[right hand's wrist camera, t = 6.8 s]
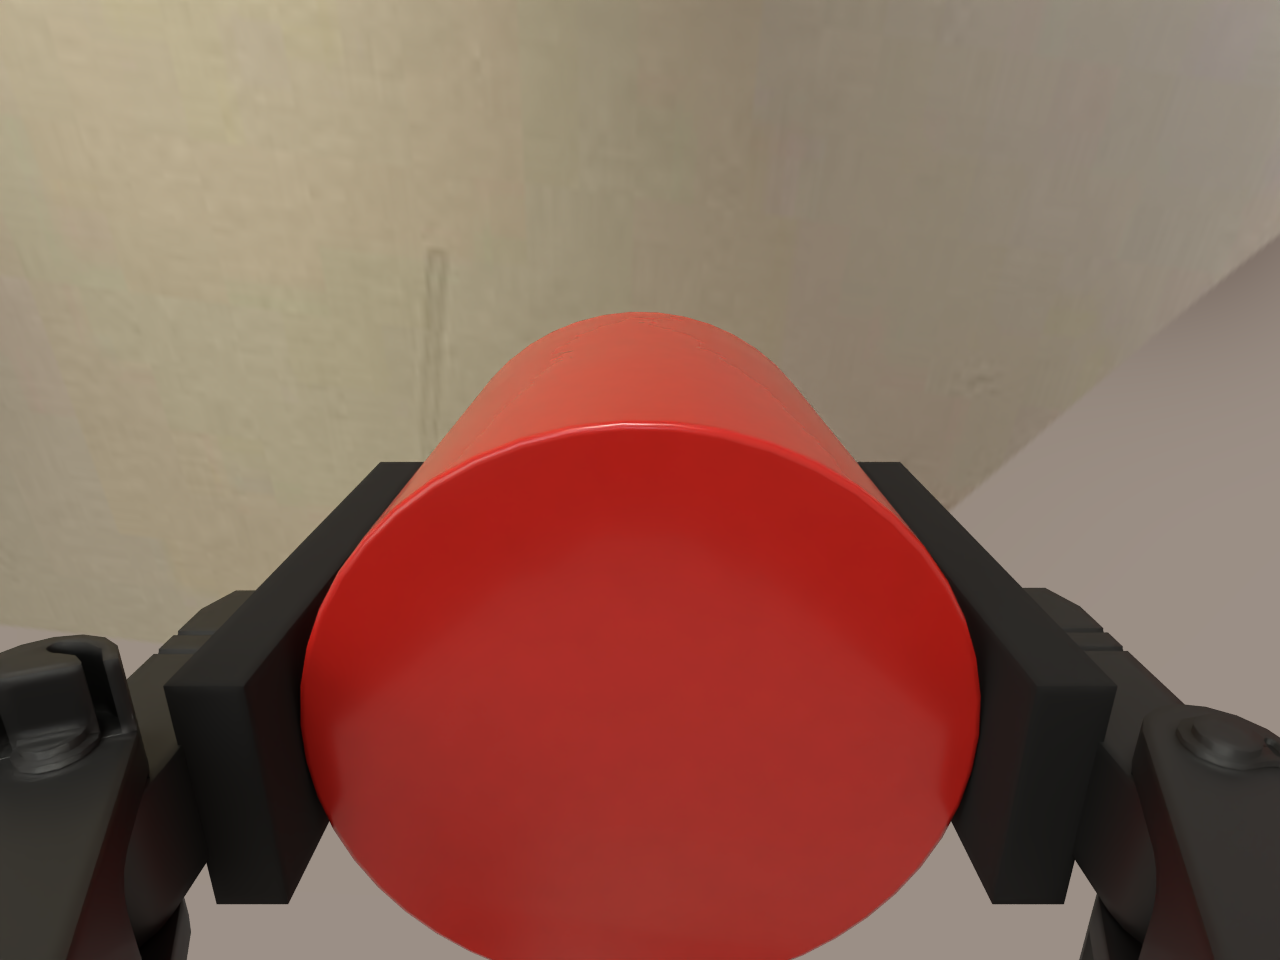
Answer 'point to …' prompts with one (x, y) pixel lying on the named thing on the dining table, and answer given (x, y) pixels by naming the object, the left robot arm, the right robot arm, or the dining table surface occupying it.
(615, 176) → the dining table surface
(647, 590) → the red cylinder
